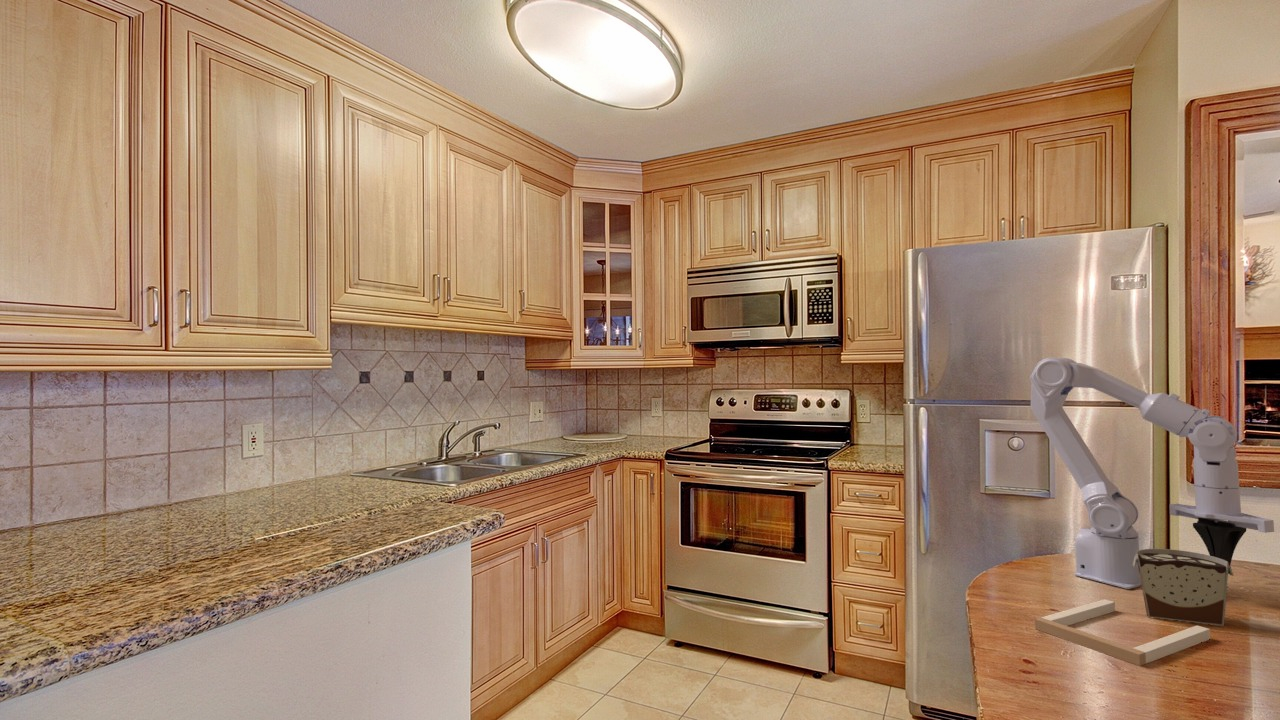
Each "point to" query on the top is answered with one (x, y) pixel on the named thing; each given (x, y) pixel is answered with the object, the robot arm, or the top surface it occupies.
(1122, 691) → the top surface
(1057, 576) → the top surface
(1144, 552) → the food container
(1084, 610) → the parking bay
